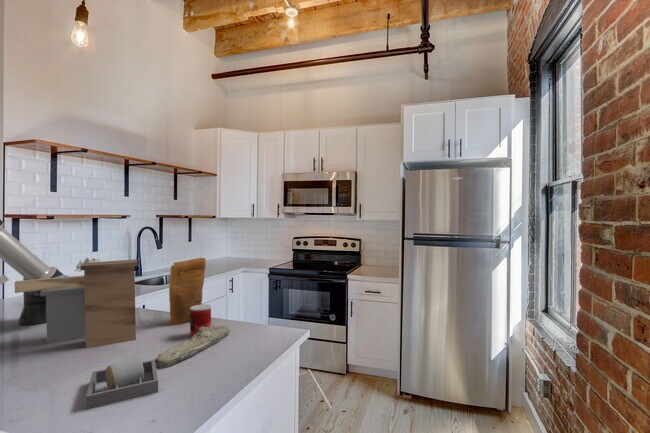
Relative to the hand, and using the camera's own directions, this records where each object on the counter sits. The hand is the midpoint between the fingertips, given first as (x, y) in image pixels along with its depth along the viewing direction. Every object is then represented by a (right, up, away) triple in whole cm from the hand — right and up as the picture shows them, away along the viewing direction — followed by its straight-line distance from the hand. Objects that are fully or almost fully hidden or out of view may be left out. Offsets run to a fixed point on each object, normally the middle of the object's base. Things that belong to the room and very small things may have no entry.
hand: (1, 279), depth 128 cm
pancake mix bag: (+58, -24, +29) cm, 69 cm away
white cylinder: (+66, -24, -33) cm, 77 cm away
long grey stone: (+74, -24, -4) cm, 78 cm away
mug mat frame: (+64, -24, -32) cm, 76 cm away
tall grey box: (+20, -25, +11) cm, 33 cm away
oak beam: (+17, -5, +9) cm, 20 cm away
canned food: (+70, -24, +10) cm, 75 cm away
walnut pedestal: (+37, -24, +6) cm, 45 cm away
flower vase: (-14, -26, +69) cm, 75 cm away
